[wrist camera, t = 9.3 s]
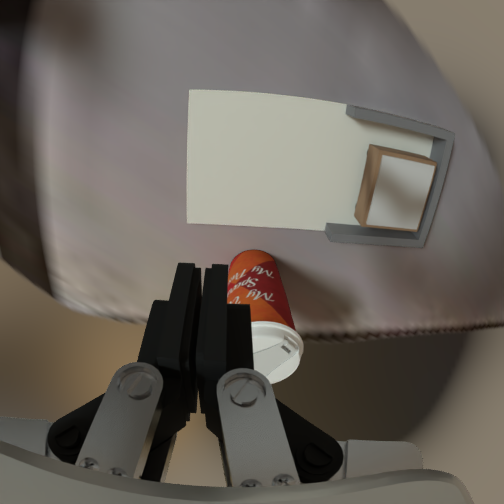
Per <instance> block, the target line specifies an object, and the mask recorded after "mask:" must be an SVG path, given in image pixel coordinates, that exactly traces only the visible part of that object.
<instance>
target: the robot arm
mask: <svg viewBox="0 0 504 504" xmlns="http://www.w3.org/2000/svg"><path fill="white" fill-rule="evenodd" d="M227 292H228V265H224V264H212V268H206V269H205V277H204V285H203V293H202V285H201V268H195V263H178V266H177V270H176V274H175V278H174V282H173V286H172V290H171V294H170V298H169V301H164V300H154V302H153V304H152V308H151V311H150V315H149V318H148V322H147V326H146V329H145V333H144V337H143V341H142V345H141V348H140V352H139V356H138V360H137V362H134V363H129V364H127V365H124V366H122V367H121V368H120V369H118V371H116V373H115V374H114V376H113V378H112V380H111V382H110V384H109V386H108V389H107V391H106V393H104V394H102V395H100V396H99V397H97V398H95V399H93V400H92V401H90V402H88V403H86V404H85V405H83V406H81V407H80V408H78V409H76V410H74V411H72V412H71V413H69V414H67V415H65V416H63V417H62V418H60V419H58V420H57V421H56V422H54V423H50V422H48V421H47V420H40V419H22V418H10V417H0V504H474V503H473V500H472V498H471V496H470V494H469V492H468V490H467V488H466V487H465V485H464V484H463V482H461V480H460V479H459V478H457V477H456V476H454V475H452V474H450V473H446V472H442V471H438V470H431V469H423V458H422V455H421V452H420V451H419V449H418V448H417V446H415V445H413V444H411V443H409V442H393V441H363V440H348V441H347V442H342V441H336V440H335V439H334V438H332V437H331V436H329V435H328V434H326V433H325V432H323V431H322V430H320V429H319V428H317V427H316V426H314V425H313V424H311V423H310V422H308V421H307V420H305V419H304V418H303V417H301V416H300V415H298V414H297V413H295V412H294V411H293V410H291V409H290V408H288V407H287V406H285V405H284V404H283V403H281V402H280V401H279V400H277V399H276V398H275V396H274V393H273V389H272V386H271V384H270V382H269V380H268V379H267V378H266V377H265V376H264V375H263V374H261V373H260V372H258V371H256V370H254V358H253V342H252V325H251V309H250V304H229V303H227ZM198 391H199V399H200V407H201V413H203V414H205V417H206V426H207V428H208V429H209V430H210V431H211V432H212V433H213V434H215V435H216V436H217V437H218V441H219V447H220V453H221V459H222V465H223V470H224V476H225V481H226V486H227V487H208V486H207V487H206V486H192V485H180V484H170V483H164V482H165V479H166V474H167V471H168V467H169V463H170V460H171V456H172V452H173V448H174V445H175V441H176V437H177V432H178V431H179V430H181V429H182V428H184V427H185V426H186V421H190V413H196V410H197V395H198Z"/></svg>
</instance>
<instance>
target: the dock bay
mask: <svg viewBox="0 0 504 504" xmlns="http://www.w3.org/2000/svg"><path fill="white" fill-rule="evenodd" d="M454 137H455V133H453V132H450V131H448V130H445V129H443V128H440V127H437V126H434V125H430V124H427V123H424V122H420V121H417V120H413V119H409V118H405V117H402V116H398V115H394V114H390V113H385V112H381V111H377V110H372V109H367V108H363V107H358V106H353V105H347V104H342V103H336V102H330V101H324V100H318V99H311V98H304V97H296V96H288V95H279V94H269V93H258V92H244V91H226V90H189V109H188V138H187V223H194V224H216V225H237V226H256V227H273V228H290V229H306V230H321V231H325V233H326V235H327V237H328V239H329V241H330V242H339V243H355V244H371V245H386V246H401V247H416V248H423V246H424V243H425V240H426V237H427V234H428V231H429V228H430V225H431V222H432V219H433V216H434V213H435V210H436V207H437V203H438V200H439V197H440V193H441V190H442V186H443V182H444V179H445V175H446V171H447V167H448V163H449V159H450V155H451V151H452V146H453V142H454ZM369 144H373V145H378V146H383V147H388V148H393V149H398V150H402V151H407V152H411V153H415V154H420V155H424V156H426V157H428V158H430V159H432V160H433V161H435V162H437V166H436V170H435V174H434V177H433V181H432V185H431V188H430V192H429V195H428V199H427V202H426V206H425V209H424V212H423V215H422V218H421V222H420V225H419V228H418V231H417V232H413V231H403V230H393V229H383V228H372V227H362V226H361V225H360V224H359V222H358V221H357V220H356V218H355V217H354V213H355V205H356V203H357V200H358V196H359V191H360V187H361V182H362V178H363V173H364V168H365V163H366V158H367V150H368V148H369Z"/></svg>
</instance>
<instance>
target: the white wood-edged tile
mask: <svg viewBox="0 0 504 504" xmlns="http://www.w3.org/2000/svg"><path fill="white" fill-rule="evenodd" d="M436 166H437V162H435V161H433V160H432V159H430V158H428V157H426V156H424V155H420V154H415V153H411V152H407V151H402V150H398V149H393V148H388V147H383V146H378V145H373V144H369V148H368V150H367V158H366V163H365V168H364V173H363V178H362V182H361V187H360V191H359V196H358V200H357V203H356V205H355V213H354V217H355V218H356V220H357V221H358V222H359V224H360V225H361V226H362V227H372V228H383V229H393V230H403V231H413V232H417V231H418V228H419V225H420V222H421V218H422V215H423V212H424V209H425V206H426V202H427V199H428V195H429V192H430V188H431V185H432V181H433V177H434V174H435V170H436Z"/></svg>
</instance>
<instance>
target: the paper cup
mask: <svg viewBox="0 0 504 504" xmlns="http://www.w3.org/2000/svg"><path fill="white" fill-rule="evenodd" d="M227 303H229V304H250V309H251V325H252V342H253V358H254V370H256V371H258V372H260V373H261V374H263V375H264V376H265V377H266V378H267V379H268V380H269V382H270V384H271V383H275V382H278V381H281V380H283V379H285V378H287V377H288V376H290V375H291V374H292V373H293V372H294V371H295V370H296V369H297V367H298V365H299V362H300V358H301V355H302V353H303V342H302V339H301V337H300V336H299V334H298V333H297V332H296V330H295V326H294V323H293V319H292V315H291V312H290V308H289V304H288V300H287V297H286V294H285V291H284V287H283V284H282V281H281V278H280V275H279V271H278V268H277V266H276V263H275V261H274V259H273V258H272V257H271V256H270V255H269V254H267V253H266V252H263V251H260V250H247V251H244V252H242V253H240V254H238V255H237V256H236V257H235V258H234V259H233V260H232V262H231V265H230V269H229V274H228V292H227Z"/></svg>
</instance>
